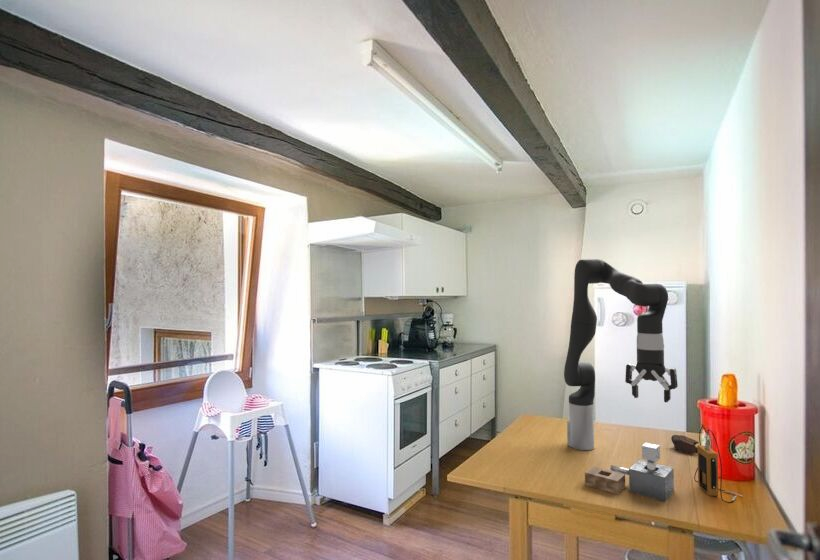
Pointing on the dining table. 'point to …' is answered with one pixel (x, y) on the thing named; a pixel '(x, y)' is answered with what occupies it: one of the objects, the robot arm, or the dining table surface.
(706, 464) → the multimeter
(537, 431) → the dining table surface
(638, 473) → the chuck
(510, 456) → the dining table surface
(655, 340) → the robot arm
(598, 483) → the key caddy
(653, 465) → the grey square peg
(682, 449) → the rough brown rock chunk
